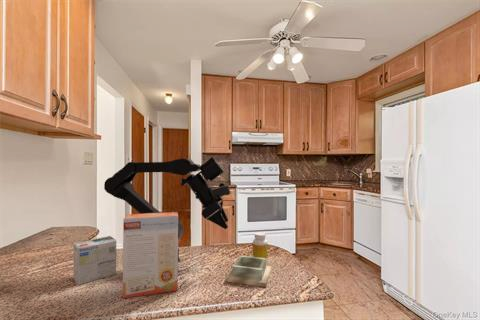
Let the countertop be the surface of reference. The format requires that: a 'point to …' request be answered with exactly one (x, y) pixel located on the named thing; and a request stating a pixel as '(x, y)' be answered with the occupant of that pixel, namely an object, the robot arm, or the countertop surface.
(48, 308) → the countertop surface
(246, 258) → the holder
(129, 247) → the cracker box
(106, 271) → the light bulb box
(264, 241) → the supplement bottle
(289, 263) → the countertop surface
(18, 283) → the countertop surface
